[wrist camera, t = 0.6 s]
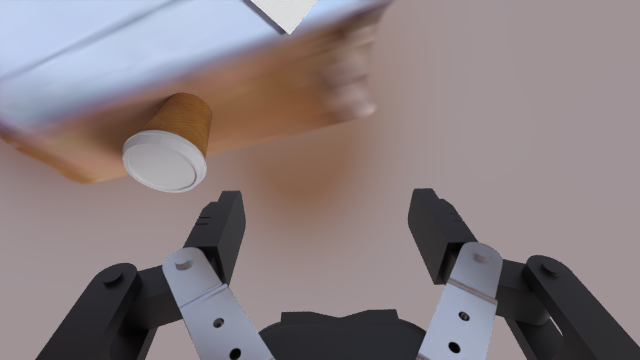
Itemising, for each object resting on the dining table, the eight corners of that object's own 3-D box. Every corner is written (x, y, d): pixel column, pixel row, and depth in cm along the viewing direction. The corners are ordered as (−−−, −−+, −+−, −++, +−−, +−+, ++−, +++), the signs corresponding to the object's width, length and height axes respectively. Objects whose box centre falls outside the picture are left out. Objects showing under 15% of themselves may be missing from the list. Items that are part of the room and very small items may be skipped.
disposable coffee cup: (174, 68, 38) (138, 125, 30) (235, 112, 43) (219, 171, 35) (143, 110, 42) (104, 169, 34) (201, 145, 48) (180, 203, 40)
